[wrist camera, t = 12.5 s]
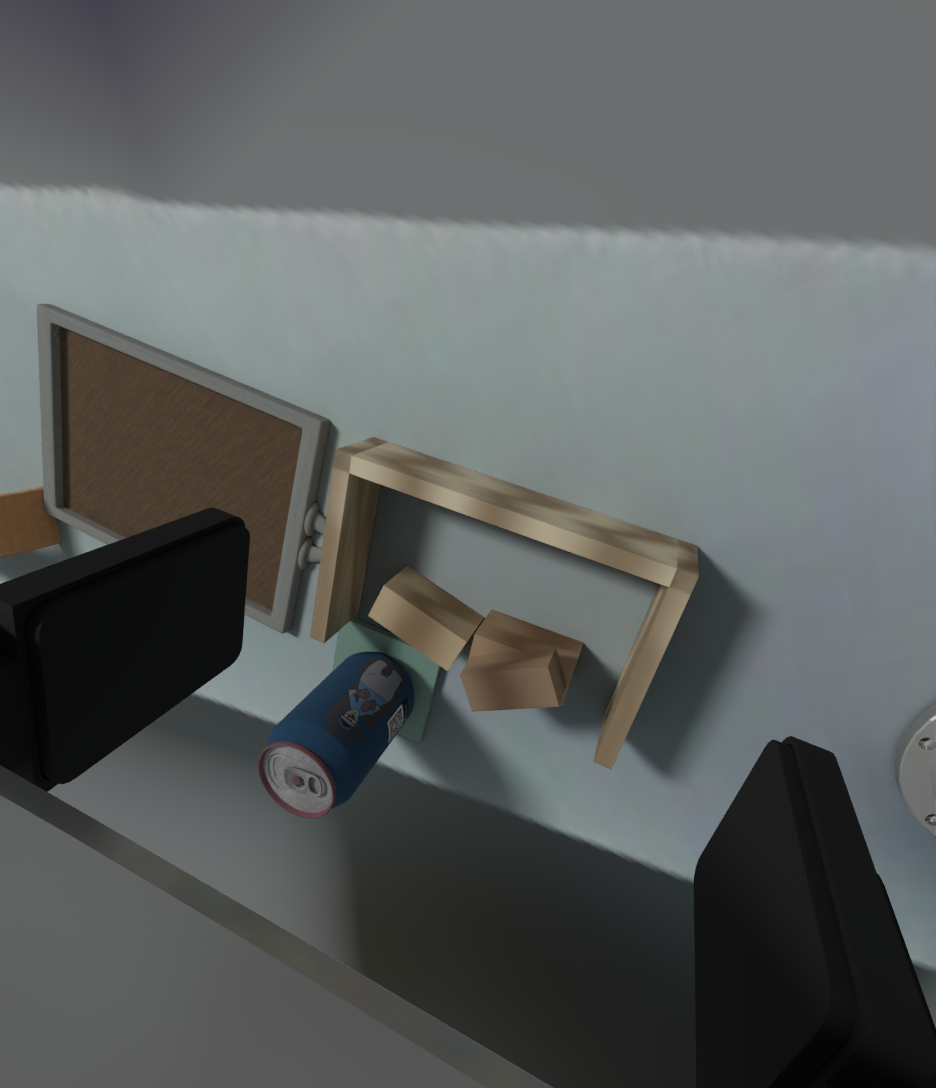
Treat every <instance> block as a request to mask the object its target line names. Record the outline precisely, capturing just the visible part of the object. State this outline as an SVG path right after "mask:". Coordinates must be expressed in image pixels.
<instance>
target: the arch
mask: <svg viewBox="0 0 936 1088" xmlns="http://www.w3.org/2000/svg"><path fill="white" fill-rule="evenodd" d="M60 542H61V538H60V533H59V529H58V524H57V519H56V518H55V517H53V516H51V515H49V514H47V513H46V512H45V509H44V488H43V487H40V488H36V489H31V490H26V491H21V492H15V493H8V494H1V495H0V557H1V556H7V555H13V554H18V553H22V552H27V551H31V550H36V549H40V548H43V547H47V546H51V545H54V544H57V543H60Z"/></svg>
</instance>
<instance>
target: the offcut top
mask: <svg viewBox="0 0 936 1088" xmlns="http://www.w3.org/2000/svg"><path fill="white" fill-rule="evenodd" d="M460 676H461V679H462V682H463V685H464V688H465V691H466V694H467V697H468V700H469V703H470V706H471V709H472V712H474V711H491V710H508V709H525V708H542V707H559V705H560V703H561V700H562V697H563V694H564V691H565V688H566V682H565V679H564V675H563V672H562V668H561V665H560V661H559V657H558V654H557V650H556V648H548V649H538V650H528V651H519V652H509V653H500V654H490V655H480V656H472V658H471V659H470V661H469V662H468V664H467V665H466V667H465V668H464V670H463V671H462V673H461V674H460Z"/></svg>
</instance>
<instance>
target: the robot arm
mask: <svg viewBox="0 0 936 1088" xmlns="http://www.w3.org/2000/svg"><path fill="white" fill-rule="evenodd" d="M249 547H250V533H249V531H248V530H247V529H246V527H245V523H244V521H243V520H242V519H241V518H240V517H237V516H235V515H232V514H230V513H227V512H225V511H222V510H220V509H217V508H213V507H212V508H207V509H204V510H202V511H199V512H196V513H193V514H191V515H188V516H185V517H182V518H180V519H177V520H174V521H171V522H169V523H166V524H163V525H160V526H158V527H155V528H152V529H149V530H147V531H144V532H141V533H139V534H136V535H133V536H130V537H128V538H125V539H122V540H119V541H117V542H114V543H111V544H108V545H106V546H103V547H100V548H97V549H95V550H92V551H89V552H86V553H84V554H81V555H78V556H76V557H73V558H70V559H67V560H65V561H62V562H59V563H56V564H54V565H51V566H48V567H45V568H43V569H40V570H37V571H34V572H32V573H29V574H26V575H23V576H21V577H18V578H15V579H13V580H10V581H7V582H4V583H2V584H0V1088H552V1087H551V1086H549V1085H547V1084H546V1083H544V1082H542V1081H541V1080H539V1079H537V1078H536V1077H534V1076H532V1075H531V1074H529V1073H527V1072H526V1071H524V1070H522V1069H520V1068H519V1067H517V1066H515V1065H513V1064H512V1063H510V1062H509V1061H507V1060H505V1059H503V1058H502V1057H500V1056H498V1055H497V1054H495V1053H493V1052H492V1051H490V1050H488V1049H486V1048H485V1047H483V1046H481V1045H480V1044H478V1043H476V1042H475V1041H473V1040H471V1039H470V1038H468V1037H466V1036H464V1035H463V1034H461V1033H459V1032H458V1031H456V1030H454V1029H452V1028H451V1027H449V1026H448V1025H446V1024H444V1023H443V1022H441V1021H439V1020H437V1019H436V1018H434V1017H432V1016H431V1015H429V1014H427V1013H426V1012H424V1011H422V1010H420V1009H419V1008H417V1007H415V1006H414V1005H412V1004H410V1003H409V1002H407V1001H405V1000H404V999H402V998H400V997H398V996H397V995H395V994H393V993H392V992H390V991H388V990H387V989H385V988H383V987H381V986H380V985H378V984H376V983H375V982H373V981H371V980H370V979H368V978H366V977H365V976H363V975H361V974H359V973H358V972H356V971H354V970H353V969H351V968H349V967H347V966H346V965H344V964H343V963H341V962H339V961H337V960H336V959H334V958H332V957H331V956H329V955H327V954H325V953H324V952H322V951H320V950H319V949H317V948H315V947H313V946H312V945H310V944H308V943H307V942H305V941H303V940H301V939H300V938H298V937H296V936H294V935H293V934H291V933H289V932H288V931H286V930H284V929H283V928H281V927H279V926H277V925H275V924H274V923H272V922H271V921H269V920H267V919H266V918H264V917H262V916H260V915H259V914H257V913H255V912H253V911H252V910H250V909H248V908H247V907H245V906H243V905H241V904H240V903H238V902H236V901H235V900H233V899H231V898H230V897H228V896H226V895H224V894H223V893H221V892H219V891H218V890H216V889H214V888H212V887H211V886H209V885H207V884H205V883H204V882H202V881H200V880H198V879H197V878H195V877H193V876H192V875H190V874H188V873H187V872H185V871H183V870H181V869H180V868H178V867H176V866H174V865H173V864H171V863H169V862H168V861H166V860H164V859H162V858H160V857H159V856H157V855H156V854H154V853H152V852H150V851H149V850H147V849H145V848H144V847H142V846H140V845H138V844H137V843H135V842H133V841H131V840H130V839H128V838H126V837H125V836H123V835H121V834H119V833H117V832H115V831H114V830H112V829H110V828H109V827H107V826H105V825H104V824H102V823H100V822H98V821H97V820H95V819H93V818H91V817H90V816H88V815H86V814H84V813H83V812H81V811H79V810H78V809H76V808H74V807H72V806H71V805H69V804H67V803H65V802H64V801H62V800H60V799H58V798H57V797H55V796H53V795H51V794H50V793H48V792H47V791H49V790H50V789H52V788H53V787H54V786H56V785H57V784H65V783H67V782H70V781H72V780H73V779H75V778H77V777H78V776H79V775H81V774H82V773H83V772H85V771H86V770H88V769H89V768H90V767H92V766H93V765H94V764H96V763H97V762H98V761H100V760H101V759H103V758H104V757H105V756H107V755H108V754H110V753H111V752H112V751H114V750H115V749H116V748H118V747H119V746H121V745H122V744H123V743H125V742H126V741H127V740H129V739H130V738H132V737H133V736H134V735H136V734H137V733H138V732H140V731H141V730H143V729H144V728H145V727H146V726H148V725H149V724H151V723H152V722H154V721H155V720H156V719H158V718H159V717H160V716H162V715H163V714H165V713H166V712H167V711H169V710H170V709H171V708H173V707H174V706H175V705H177V704H178V703H180V702H181V701H182V700H183V699H185V698H187V697H188V696H189V695H191V694H192V693H193V692H195V691H196V690H197V689H199V688H200V687H202V686H203V685H204V684H206V683H207V682H208V681H210V680H211V679H213V678H214V677H215V676H217V675H218V674H219V673H221V672H222V671H224V670H225V669H226V668H228V667H229V666H230V665H232V664H233V663H234V662H235V660H236V659H237V658H238V656H239V654H240V652H241V649H242V641H243V627H244V614H245V600H246V587H247V574H248V560H249ZM895 772H896V781H897V783H898V786H899V789H900V791H901V794H902V797H903V798H904V800H905V802H906V804H907V806H908V808H909V810H910V812H911V813H912V815H913V816H914V817H915V818H916V820H917V821H918V822H919V823H920V825H921V826H922V827H923V828H925V829H926V830H927V831H928V832H930V833H931V834H932V835H933V836H934V837H936V704H934V705H932V706H931V707H930V708H929V709H927V710H926V711H925V712H924V713H923V714H921V715H920V716H919V717H918V718H917V719H916V720H915V721H914V722H913V723H912V725H911V726H910V727H909V728H908V730H907V731H906V732H905V734H904V736H903V738H902V740H901V742H900V744H899V746H898V749H897V755H896V760H895ZM694 930H695V931H694V935H695V936H694V937H695V1011H696V1012H695V1016H696V1088H936V1028H935V1026H934V1023H933V1020H932V1017H931V1014H930V1012H929V1009H928V1006H927V1003H926V1000H925V997H924V995H923V992H922V989H921V986H920V983H919V981H918V978H917V975H916V972H915V970H914V967H913V964H912V961H911V958H910V956H909V953H908V950H907V947H906V944H905V942H904V939H903V936H902V933H901V930H900V928H899V925H898V922H897V919H896V916H895V914H894V911H893V908H892V905H891V903H890V900H889V897H888V894H887V891H886V889H885V886H884V884H883V882H882V880H881V878H880V876H879V875H878V874H877V873H876V870H875V867H874V864H873V861H872V859H871V856H870V853H869V850H868V847H867V844H866V841H865V839H864V836H863V833H862V830H861V827H860V824H859V822H858V819H857V816H856V813H855V810H854V807H853V805H852V802H851V799H850V796H849V793H848V790H847V787H846V785H845V782H844V779H843V776H842V773H841V770H840V768H839V765H838V762H837V759H836V757H835V755H834V754H833V753H832V752H830V751H827V750H825V749H822V748H820V747H817V746H815V745H812V744H810V743H807V742H805V741H802V740H800V739H797V738H795V737H792V736H790V737H787V738H786V739H785V740H783V742H782V743H781V742H778V741H776V740H771V741H770V742H769V743H768V744H767V745H766V747H765V748H764V750H763V752H762V753H761V755H760V757H759V758H758V760H757V762H756V763H755V765H754V767H753V768H752V770H751V772H750V774H749V775H748V777H747V779H746V780H745V782H744V784H743V785H742V787H741V789H740V790H739V792H738V794H737V795H736V797H735V799H734V800H733V802H732V804H731V805H730V807H729V809H728V810H727V812H726V814H725V816H724V817H723V819H722V821H721V822H720V824H719V826H718V827H717V829H716V831H715V832H714V834H713V836H712V837H711V839H710V841H709V842H708V844H707V846H706V847H705V849H704V851H703V852H702V854H701V856H700V858H699V860H698V863H697V866H696V870H695V875H694Z"/></svg>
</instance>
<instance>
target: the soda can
mask: <svg viewBox="0 0 936 1088" xmlns="http://www.w3.org/2000/svg"><path fill="white" fill-rule="evenodd" d="M413 707H414V688H413V683H412V679H411V677H410V674H409V673H408V671H407V670H406V668H405V667H404V666H403V665H402V664H401V663H400V662H399V661H398V660H397V659H395V658H394V657H392V656H390V655H388V654H385V653H382V652H359V653H355V654H353V655H351V656H349V657H348V658H346V659H345V660H344V661H343V662H342V663H341V664H340V665H339V666H338V667H337V668H336V669H335V670H334V671H333V672H332V673H330V674H329V675H328V676H327V677H326V678H325V679H324V680H323V681H322V682H321V683H320V684H319V685H318V686H317V687H316V688H315V689H314V690H313V691H312V692H311V693H310V694H309V695H308V696H307V697H305V698H304V699H303V700H302V701H301V702H300V703H299V704H298V705H297V706H296V707H295V708H294V709H293V710H292V711H291V712H290V713H289V714H288V715H287V716H286V717H285V718H284V719H283V720H282V721H280V722H279V723H278V724H277V725H276V726H275V727H274V729H273V730H272V731H271V733H270V735H269V738H268V741H267V745H266V748H265V749H264V751H263V752H262V753H261V756H260V758H259V762H258V771H259V775H260V779H261V781H262V783H263V785H264V787H265V789H266V791H267V792H268V793H269V795H270V796H271V797H272V798H273V799H274V800H275V801H276V802H277V803H278V804H279V805H280V806H281V807H282V808H284V809H285V810H286V811H288V812H291V813H292V814H294V815H297V816H301V817H305V818H317V817H321V816H323V815H325V814H326V813H328V812H329V811H330V809H331V808H333V807H336V806H339V805H340V804H343V803H344V802H346V801H347V800H348V799H349V798H350V797H351V796H352V795H353V793H354V792H355V791H356V789H357V788H358V786H359V785H360V784H361V782H362V781H363V779H364V778H365V777H366V776H367V774H368V773H369V771H370V770H371V769H372V767H373V766H374V765H375V763H376V762H377V760H378V759H379V758H380V756H381V755H382V754H383V752H384V751H385V749H386V748H387V747H388V745H389V744H390V743H391V741H392V740H393V738H394V737H395V736H396V734H397V733H398V732H399V730H400V729H401V727H402V726H403V725H404V723H405V722H406V721H407V719H408V718H409V716H410V715H411V713H412V710H413Z"/></svg>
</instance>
